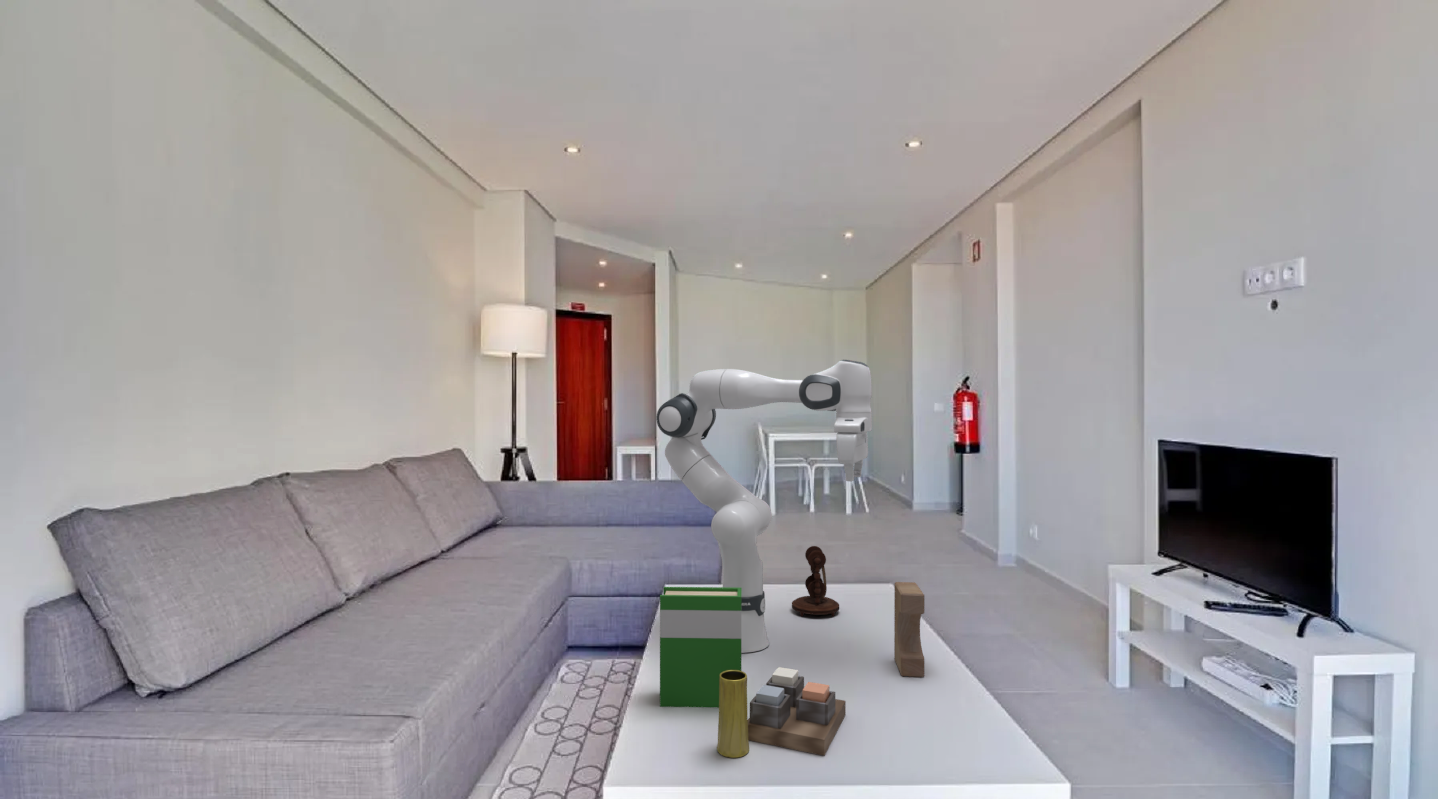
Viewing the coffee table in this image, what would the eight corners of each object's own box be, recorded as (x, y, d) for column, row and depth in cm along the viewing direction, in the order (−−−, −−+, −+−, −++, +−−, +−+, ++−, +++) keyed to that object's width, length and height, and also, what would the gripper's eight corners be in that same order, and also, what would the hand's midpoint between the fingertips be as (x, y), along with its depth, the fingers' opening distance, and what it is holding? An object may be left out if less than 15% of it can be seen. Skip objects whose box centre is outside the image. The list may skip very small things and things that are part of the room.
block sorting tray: (744, 739, 135) (744, 703, 135) (773, 701, 151) (773, 670, 151) (824, 755, 128) (824, 718, 128) (845, 714, 145) (845, 681, 145)
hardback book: (659, 706, 149) (659, 596, 149) (663, 692, 156) (663, 586, 156) (741, 708, 148) (741, 596, 148) (741, 693, 156) (741, 587, 156)
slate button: (756, 709, 136) (756, 693, 136) (763, 700, 140) (763, 684, 140) (777, 713, 134) (777, 697, 134) (784, 704, 138) (784, 688, 138)
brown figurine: (842, 619, 208) (843, 553, 208) (794, 619, 208) (794, 553, 208) (835, 605, 222) (835, 543, 222) (789, 604, 223) (789, 543, 223)
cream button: (772, 689, 145) (772, 674, 145) (778, 681, 149) (778, 667, 149) (792, 693, 143) (792, 677, 143) (798, 685, 147) (798, 670, 147)
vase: (715, 742, 133) (715, 669, 133) (747, 741, 134) (747, 668, 134) (718, 759, 127) (718, 682, 127) (751, 757, 128) (751, 681, 128)
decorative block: (924, 678, 164) (924, 594, 164) (900, 676, 165) (900, 593, 165) (917, 660, 175) (917, 582, 175) (894, 659, 176) (894, 581, 176)
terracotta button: (802, 706, 137) (802, 690, 137) (808, 697, 141) (808, 681, 141) (824, 710, 135) (824, 693, 135) (829, 700, 140) (829, 685, 140)
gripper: (849, 422, 184) (849, 474, 184) (832, 425, 165) (832, 483, 165) (873, 423, 182) (873, 475, 182) (858, 425, 163) (858, 484, 163)
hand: (853, 479), depth 173 cm, fingers open, 8 cm apart
